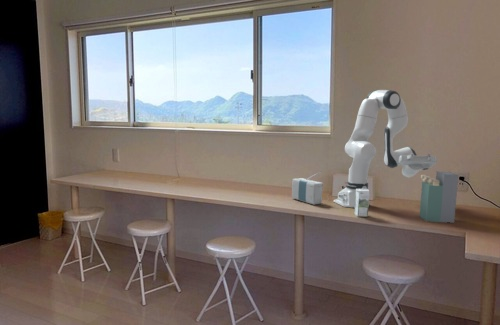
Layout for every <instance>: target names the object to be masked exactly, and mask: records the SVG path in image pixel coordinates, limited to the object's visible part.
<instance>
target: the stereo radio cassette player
mask: <svg viewBox="0 0 500 325" xmlns="http://www.w3.org/2000/svg"><path fill="white" fill-rule="evenodd" d="M320 173H321V171H319V172H317V173H315V174H313V175H311V176H309V177H307V178H304V177H300V178H292V183H291V197H292V199H294V200H297V201H301V202H303V203H307V204H311V205H313V206H315V205H321V203H322V202H323V199H322V198H323V187H324V183H323V182H321V181H318V180H317V181H316V180H311V178H312V177H314V176H317V175H319V174H320Z"/></svg>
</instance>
